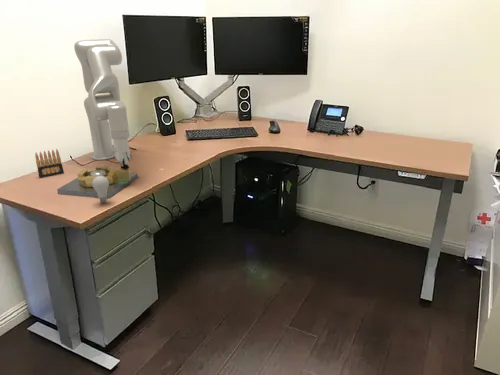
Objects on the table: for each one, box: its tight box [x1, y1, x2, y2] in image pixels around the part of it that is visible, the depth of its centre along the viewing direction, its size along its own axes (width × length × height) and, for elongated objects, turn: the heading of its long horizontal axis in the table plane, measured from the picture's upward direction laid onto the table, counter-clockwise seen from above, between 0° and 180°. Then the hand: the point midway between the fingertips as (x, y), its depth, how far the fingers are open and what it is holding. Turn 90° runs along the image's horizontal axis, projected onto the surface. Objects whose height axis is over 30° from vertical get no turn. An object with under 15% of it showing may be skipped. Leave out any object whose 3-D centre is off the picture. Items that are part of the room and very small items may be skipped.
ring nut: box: [77, 165, 131, 187], centre depth 181 cm, size 21×15×5 cm
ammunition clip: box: [34, 148, 65, 179], centre depth 194 cm, size 11×2×12 cm, turn 123°
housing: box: [56, 170, 139, 199], centre depth 182 cm, size 24×25×6 cm
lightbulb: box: [92, 176, 109, 203], centre depth 164 cm, size 6×6×11 cm
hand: (125, 174), depth 185 cm, fingers closed
